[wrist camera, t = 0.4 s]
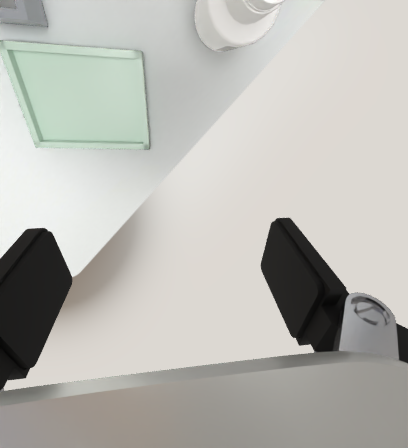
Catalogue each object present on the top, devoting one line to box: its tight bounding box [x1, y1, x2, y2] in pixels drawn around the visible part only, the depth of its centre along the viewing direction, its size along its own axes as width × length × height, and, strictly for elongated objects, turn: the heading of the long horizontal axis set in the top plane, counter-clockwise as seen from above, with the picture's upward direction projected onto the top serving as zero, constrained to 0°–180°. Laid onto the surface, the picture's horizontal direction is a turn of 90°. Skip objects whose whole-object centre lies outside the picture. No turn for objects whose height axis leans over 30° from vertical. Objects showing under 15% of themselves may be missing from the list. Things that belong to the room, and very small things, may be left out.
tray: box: [0, 40, 150, 150], centre depth 30 cm, size 12×16×2 cm
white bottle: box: [194, 0, 284, 52], centre depth 21 cm, size 7×7×18 cm
